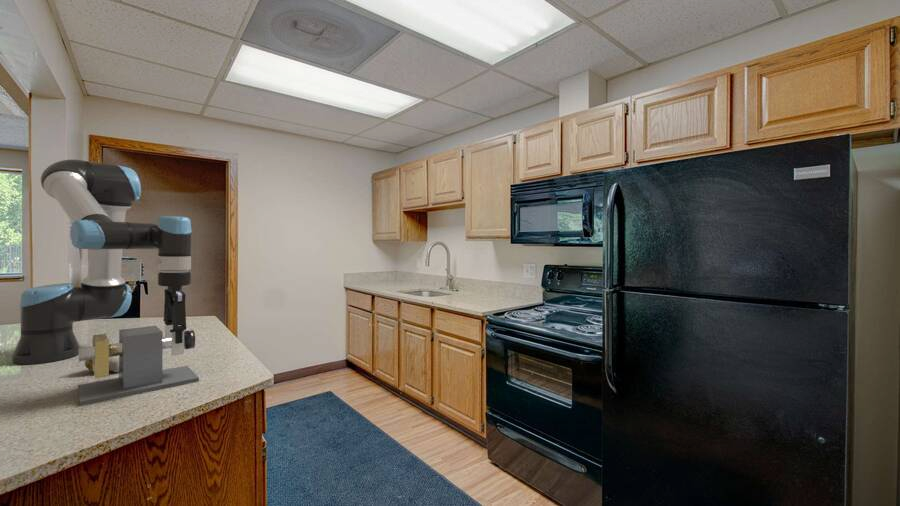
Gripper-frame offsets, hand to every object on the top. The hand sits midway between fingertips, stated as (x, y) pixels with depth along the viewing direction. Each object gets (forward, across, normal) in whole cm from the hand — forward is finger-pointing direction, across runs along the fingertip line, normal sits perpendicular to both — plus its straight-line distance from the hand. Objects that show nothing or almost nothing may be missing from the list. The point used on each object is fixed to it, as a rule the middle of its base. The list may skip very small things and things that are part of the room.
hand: (174, 350), depth 109 cm
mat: (+8, 0, -8) cm, 11 cm away
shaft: (0, 0, -7) cm, 7 cm away
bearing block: (+8, 0, -8) cm, 11 cm away
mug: (+8, -19, -12) cm, 24 cm away
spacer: (+3, 0, -16) cm, 16 cm away
